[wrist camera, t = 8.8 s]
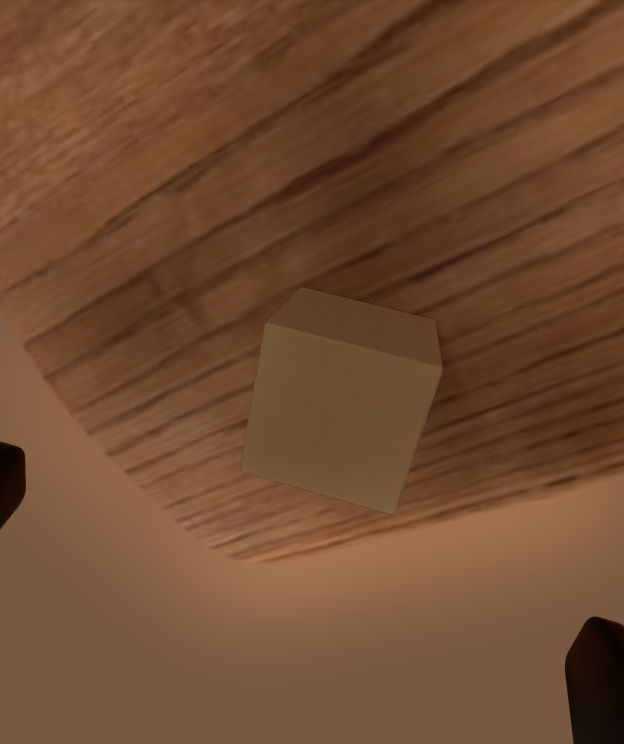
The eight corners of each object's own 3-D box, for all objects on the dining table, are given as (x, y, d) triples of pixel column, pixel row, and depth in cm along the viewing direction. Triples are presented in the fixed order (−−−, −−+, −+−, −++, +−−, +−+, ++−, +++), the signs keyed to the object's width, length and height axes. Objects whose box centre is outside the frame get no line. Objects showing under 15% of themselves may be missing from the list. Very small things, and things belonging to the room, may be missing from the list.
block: (398, 438, 16) (394, 517, 12) (277, 405, 16) (238, 472, 13) (436, 319, 14) (444, 368, 11) (301, 285, 15) (264, 322, 11)
